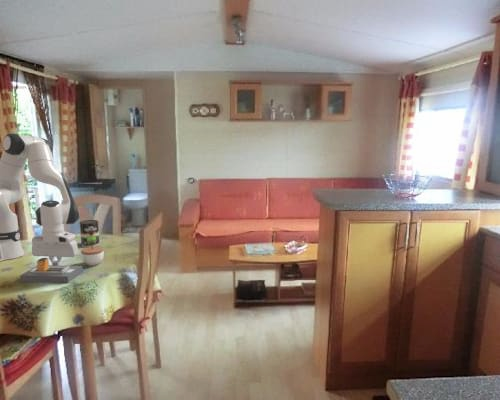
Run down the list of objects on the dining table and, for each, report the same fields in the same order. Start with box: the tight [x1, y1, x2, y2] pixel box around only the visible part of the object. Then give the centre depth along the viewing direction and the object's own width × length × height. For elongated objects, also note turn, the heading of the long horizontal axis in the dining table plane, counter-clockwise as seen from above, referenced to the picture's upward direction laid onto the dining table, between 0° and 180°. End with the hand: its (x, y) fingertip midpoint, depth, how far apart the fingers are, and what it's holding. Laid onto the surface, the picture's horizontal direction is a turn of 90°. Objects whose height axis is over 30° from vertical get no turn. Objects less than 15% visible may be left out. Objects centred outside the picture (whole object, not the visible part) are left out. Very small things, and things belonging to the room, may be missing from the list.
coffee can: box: [79, 219, 101, 248], centre depth 219 cm, size 10×10×14 cm
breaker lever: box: [36, 257, 50, 271], centre depth 170 cm, size 3×4×5 cm
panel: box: [19, 264, 84, 284], centre depth 171 cm, size 22×13×4 cm, turn 87°
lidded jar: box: [80, 245, 105, 267], centre depth 187 cm, size 11×11×9 cm
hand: (56, 265), depth 170 cm, fingers closed
